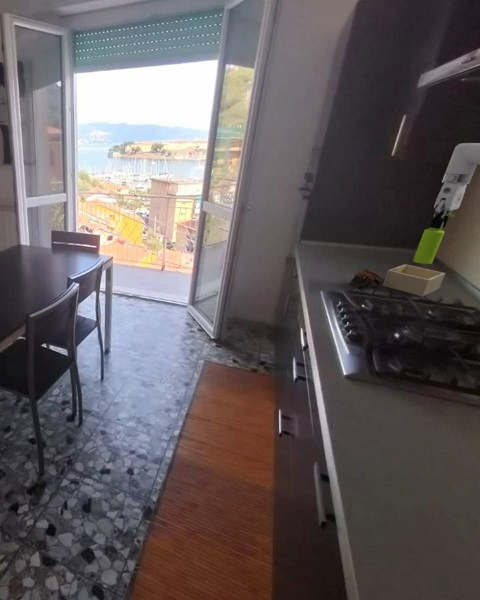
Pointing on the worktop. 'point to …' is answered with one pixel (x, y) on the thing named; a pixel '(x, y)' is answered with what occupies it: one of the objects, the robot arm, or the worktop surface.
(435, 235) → the soap dispenser
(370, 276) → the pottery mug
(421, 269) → the open rectangular box
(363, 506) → the worktop surface
